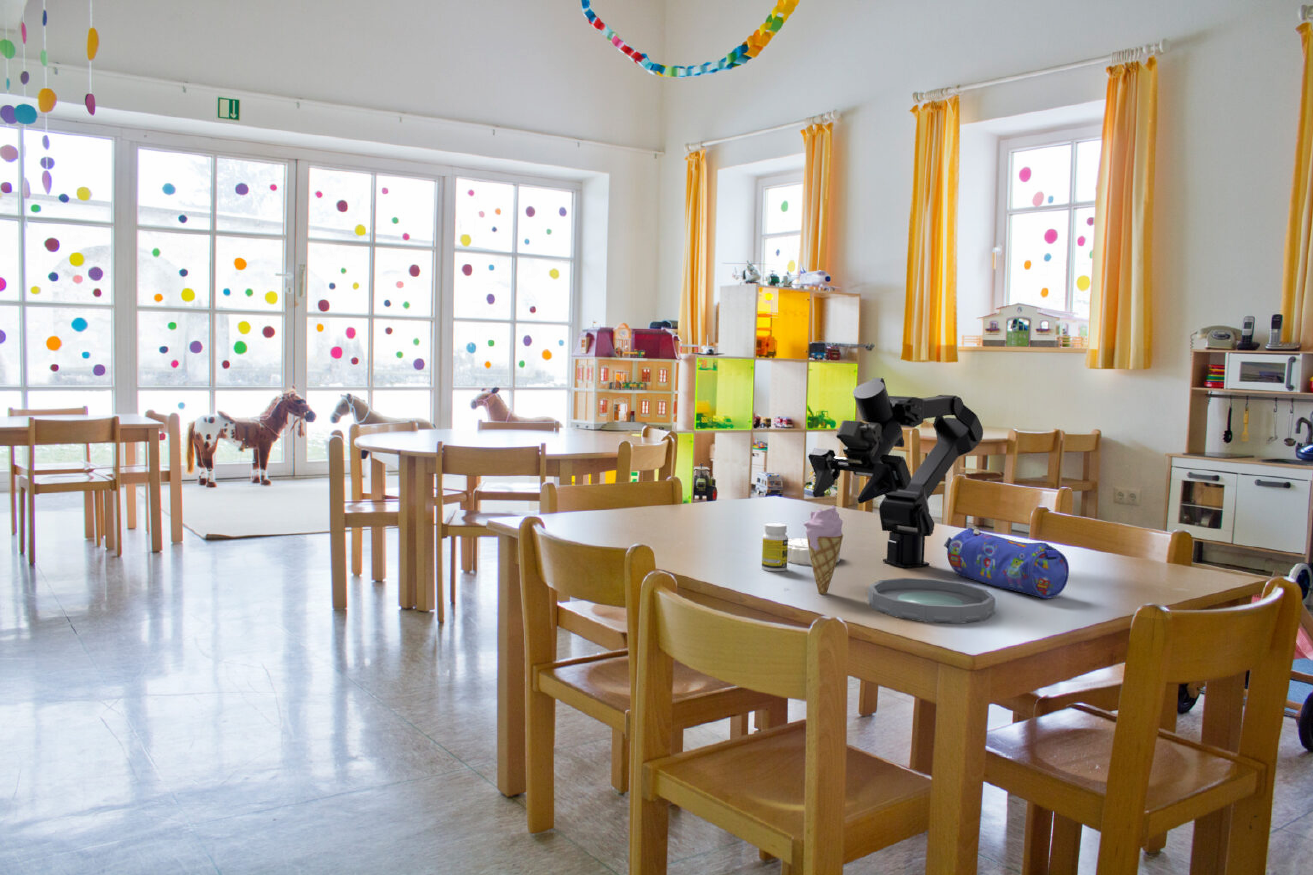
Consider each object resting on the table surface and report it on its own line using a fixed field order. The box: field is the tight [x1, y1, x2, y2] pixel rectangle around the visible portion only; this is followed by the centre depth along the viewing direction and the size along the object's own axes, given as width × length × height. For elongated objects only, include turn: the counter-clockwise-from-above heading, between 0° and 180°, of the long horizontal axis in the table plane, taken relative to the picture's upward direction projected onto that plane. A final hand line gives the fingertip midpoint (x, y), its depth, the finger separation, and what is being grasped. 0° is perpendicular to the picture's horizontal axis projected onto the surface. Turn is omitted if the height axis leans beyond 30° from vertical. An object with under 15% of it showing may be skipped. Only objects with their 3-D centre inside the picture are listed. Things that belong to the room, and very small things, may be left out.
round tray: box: [867, 577, 996, 624], centre depth 154 cm, size 19×19×2 cm
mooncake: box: [787, 537, 841, 566], centre depth 191 cm, size 12×12×4 cm
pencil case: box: [943, 525, 1070, 599], centre depth 170 cm, size 22×9×10 cm, turn 26°
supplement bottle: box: [761, 522, 789, 572], centre depth 180 cm, size 5×5×8 cm
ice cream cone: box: [803, 505, 844, 595], centre depth 161 cm, size 7×6×15 cm
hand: (836, 498), depth 168 cm, fingers open, 9 cm apart
